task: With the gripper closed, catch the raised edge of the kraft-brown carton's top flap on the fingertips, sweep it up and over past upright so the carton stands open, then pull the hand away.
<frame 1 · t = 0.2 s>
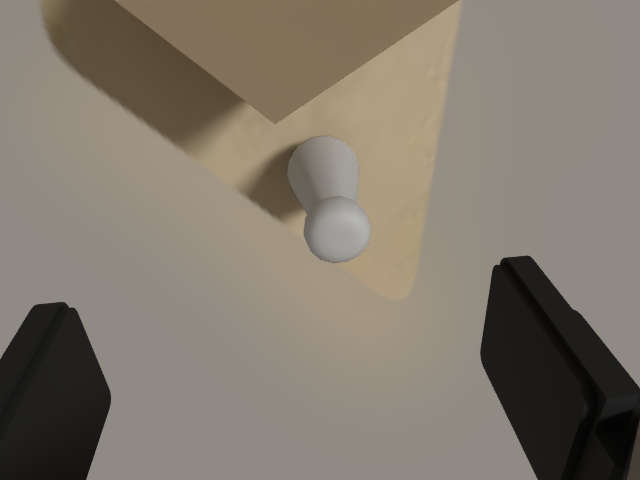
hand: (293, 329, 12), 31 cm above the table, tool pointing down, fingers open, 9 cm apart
salt shaker: (320, 158, 43), on the table
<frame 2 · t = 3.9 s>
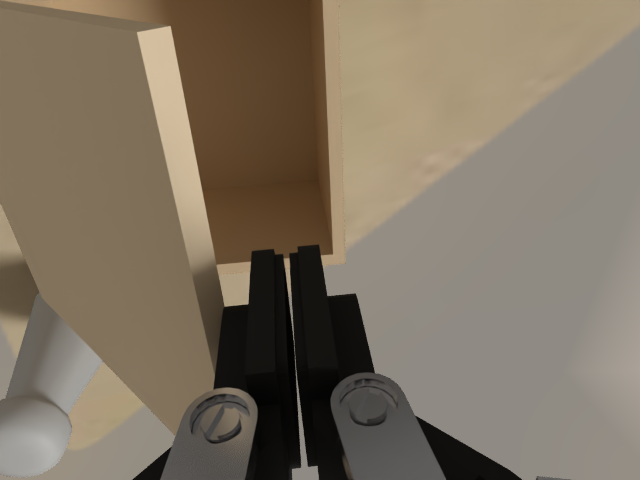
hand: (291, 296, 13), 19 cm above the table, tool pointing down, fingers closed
flap: (74, 228, 16), point 15 cm above the table, hinge at 48.6°, touching gripper
carton: (200, 91, 29), on the table
salt shaker: (91, 292, 36), on the table
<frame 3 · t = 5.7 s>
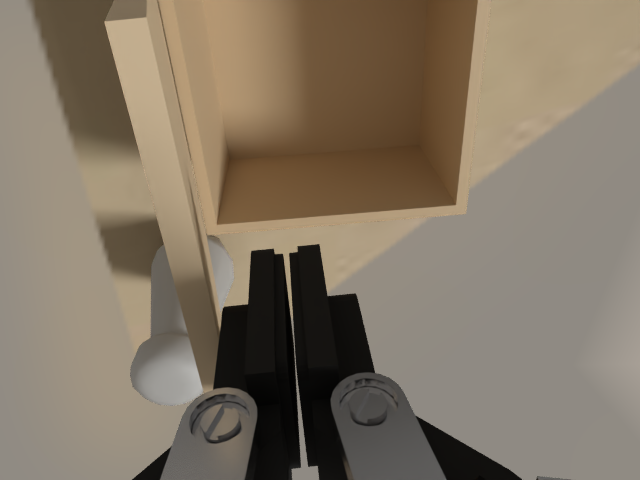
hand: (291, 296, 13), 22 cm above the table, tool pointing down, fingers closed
flap: (184, 190, 17), point 17 cm above the table, hinge at 78.0°, touching gripper
carton: (319, 59, 31), on the table
salt shaker: (198, 251, 38), on the table
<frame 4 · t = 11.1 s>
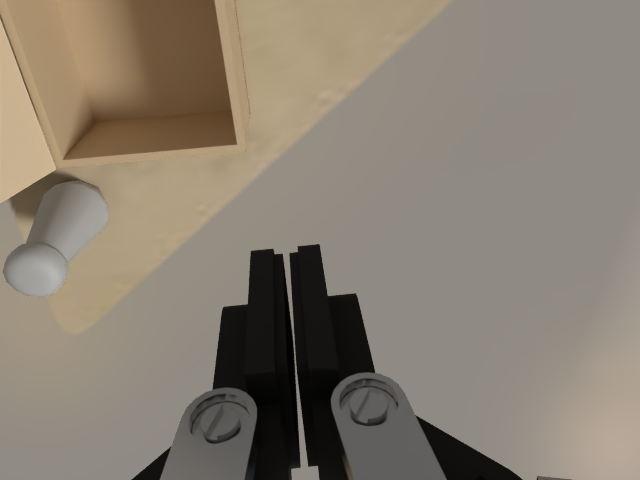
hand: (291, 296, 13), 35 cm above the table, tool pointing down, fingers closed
carton: (154, 43, 42), on the table
salt shaker: (83, 198, 49), on the table
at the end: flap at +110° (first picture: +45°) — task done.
